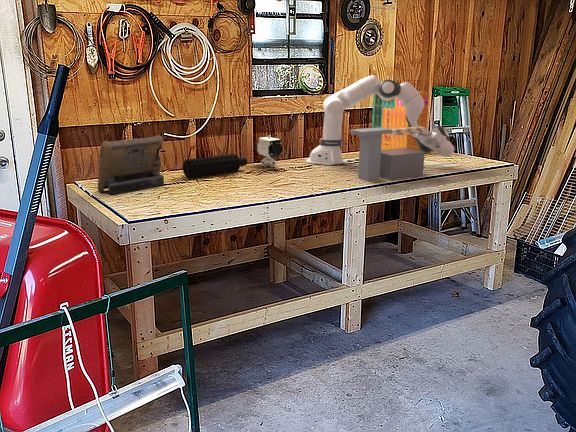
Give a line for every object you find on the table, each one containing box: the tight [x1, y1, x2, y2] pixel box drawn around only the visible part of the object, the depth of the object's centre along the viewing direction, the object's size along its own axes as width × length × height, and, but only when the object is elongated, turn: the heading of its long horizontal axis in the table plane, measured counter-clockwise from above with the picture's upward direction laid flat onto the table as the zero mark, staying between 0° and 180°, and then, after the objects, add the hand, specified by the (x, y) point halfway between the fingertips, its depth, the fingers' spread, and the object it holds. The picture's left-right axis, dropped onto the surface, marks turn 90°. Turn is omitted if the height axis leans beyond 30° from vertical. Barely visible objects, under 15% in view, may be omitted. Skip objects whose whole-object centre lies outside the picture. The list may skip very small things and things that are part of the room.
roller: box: [182, 153, 248, 179], centre depth 309 cm, size 38×10×10 cm, turn 129°
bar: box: [390, 127, 427, 136], centre depth 307 cm, size 22×4×3 cm, turn 120°
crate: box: [380, 148, 426, 181], centre depth 309 cm, size 23×16×13 cm
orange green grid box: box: [371, 90, 430, 151], centre depth 385 cm, size 34×18×40 cm, turn 35°
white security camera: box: [256, 135, 284, 168], centre depth 329 cm, size 18×8×18 cm, turn 35°
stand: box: [349, 127, 392, 182], centre depth 298 cm, size 20×10×26 cm, turn 120°
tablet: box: [97, 135, 165, 196], centre depth 271 cm, size 33×14×25 cm, turn 141°
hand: (417, 129), depth 310 cm, fingers closed on bar, 4 cm apart
